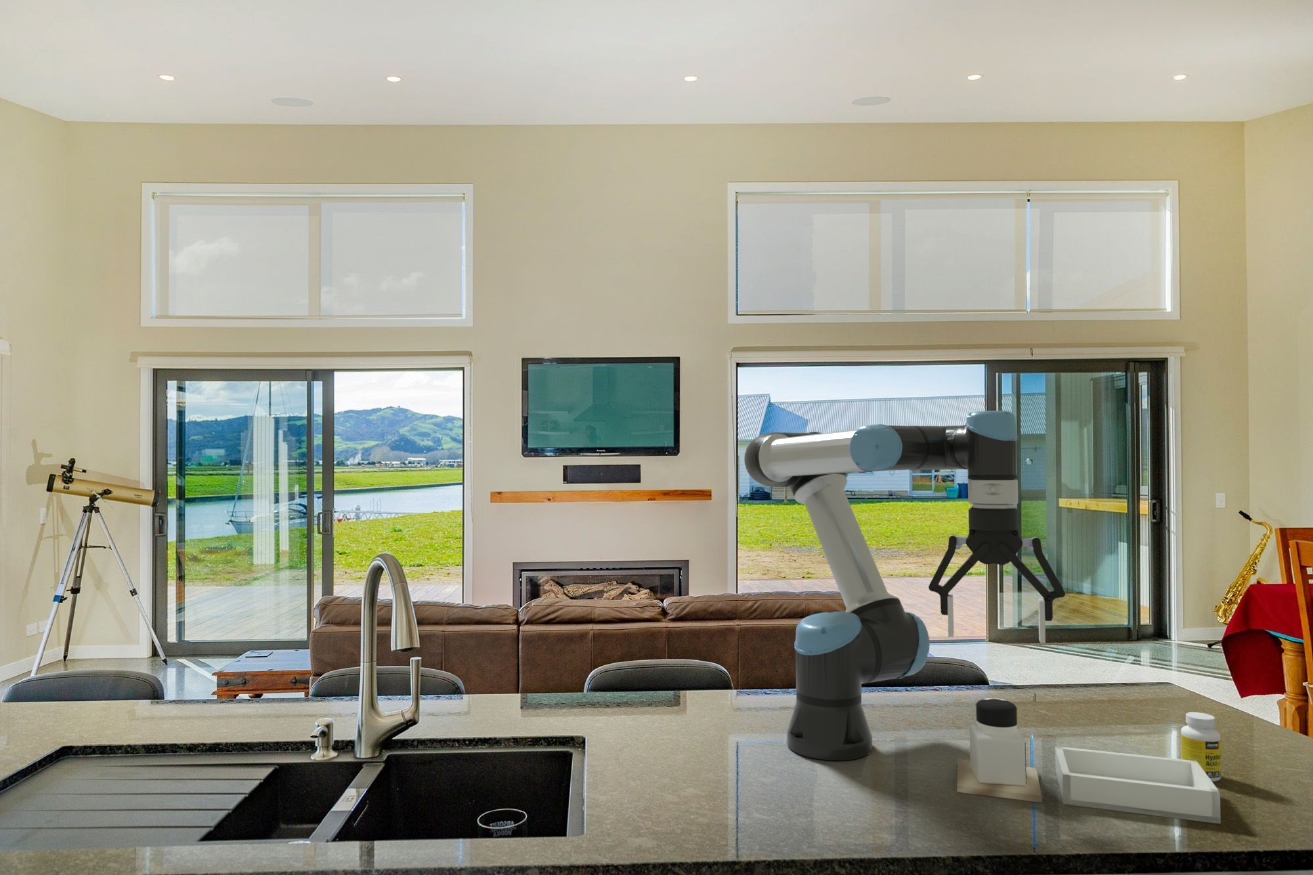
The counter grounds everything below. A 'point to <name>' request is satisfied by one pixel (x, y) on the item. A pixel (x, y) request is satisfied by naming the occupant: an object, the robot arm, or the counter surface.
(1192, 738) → the supplement bottle
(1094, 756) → the parts bin
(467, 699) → the counter surface
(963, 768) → the board
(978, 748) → the medicine bottle
